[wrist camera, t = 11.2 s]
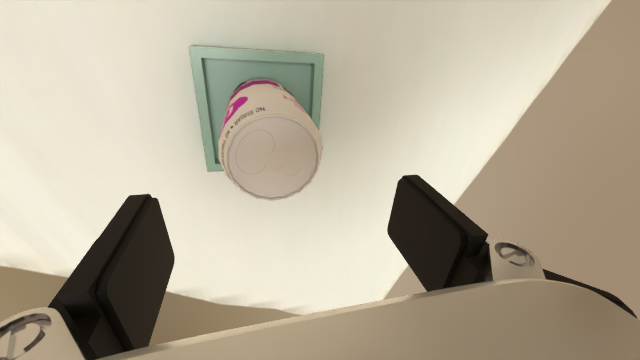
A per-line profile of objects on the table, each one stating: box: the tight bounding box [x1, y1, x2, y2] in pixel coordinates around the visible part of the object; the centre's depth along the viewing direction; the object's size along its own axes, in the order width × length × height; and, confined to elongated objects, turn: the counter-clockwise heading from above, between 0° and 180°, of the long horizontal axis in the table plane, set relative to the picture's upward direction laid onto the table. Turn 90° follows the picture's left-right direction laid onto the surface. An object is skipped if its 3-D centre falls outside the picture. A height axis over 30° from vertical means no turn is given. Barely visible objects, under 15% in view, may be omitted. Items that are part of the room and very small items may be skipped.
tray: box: [189, 45, 324, 172], centre depth 32 cm, size 14×14×2 cm
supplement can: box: [218, 77, 323, 201], centre depth 26 cm, size 8×8×15 cm
